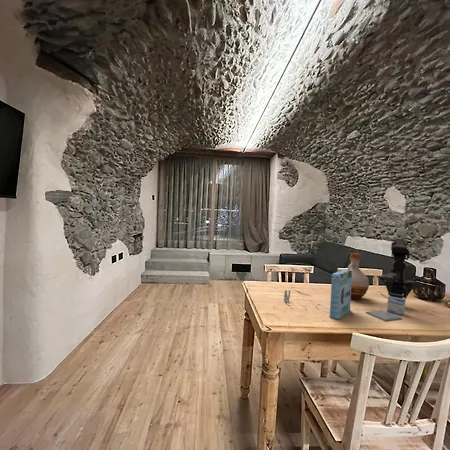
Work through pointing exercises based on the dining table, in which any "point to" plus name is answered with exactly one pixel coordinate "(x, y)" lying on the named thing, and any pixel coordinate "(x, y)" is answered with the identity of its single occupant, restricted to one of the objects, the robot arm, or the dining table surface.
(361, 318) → the dining table surface
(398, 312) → the medicine box
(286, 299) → the architectural model
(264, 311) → the dining table surface
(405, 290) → the robot arm
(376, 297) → the dining table surface
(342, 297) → the gum box
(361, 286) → the jug
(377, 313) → the slate board
